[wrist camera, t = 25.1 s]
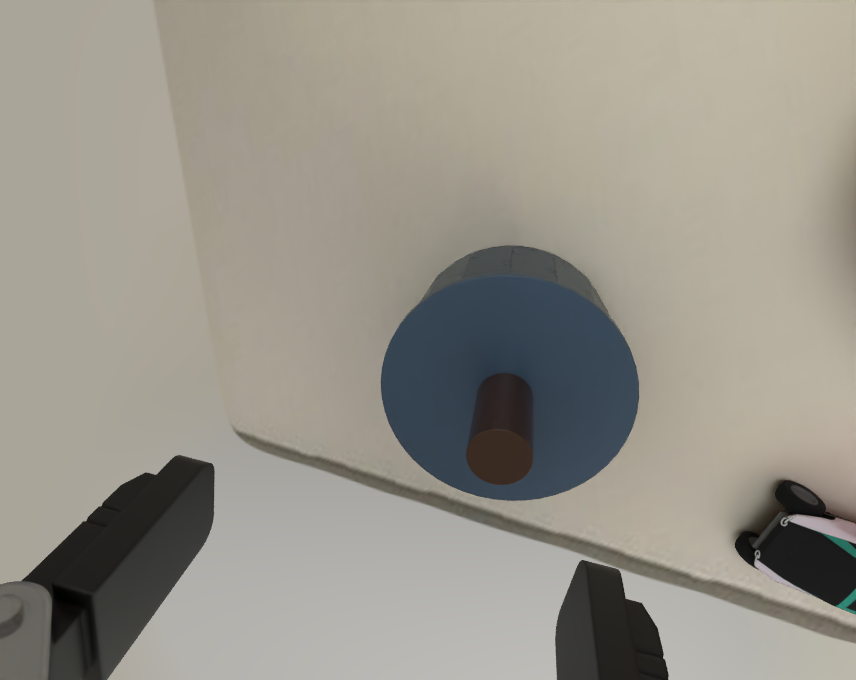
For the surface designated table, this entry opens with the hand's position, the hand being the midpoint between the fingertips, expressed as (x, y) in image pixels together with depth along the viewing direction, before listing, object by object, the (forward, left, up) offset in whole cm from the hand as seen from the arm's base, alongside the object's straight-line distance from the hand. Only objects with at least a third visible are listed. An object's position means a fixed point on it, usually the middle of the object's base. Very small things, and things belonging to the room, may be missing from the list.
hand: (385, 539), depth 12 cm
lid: (+3, -6, -18) cm, 19 cm away
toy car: (+28, -15, -26) cm, 41 cm away
